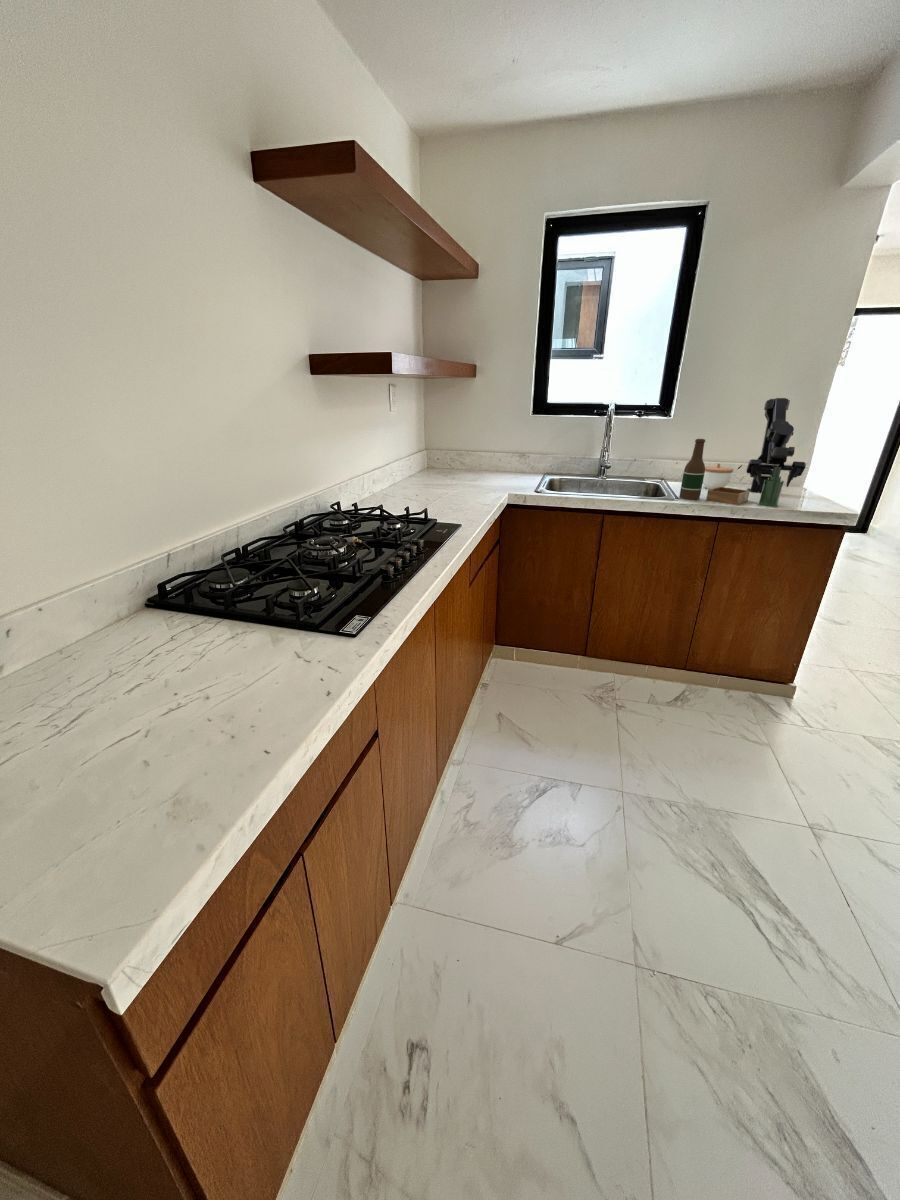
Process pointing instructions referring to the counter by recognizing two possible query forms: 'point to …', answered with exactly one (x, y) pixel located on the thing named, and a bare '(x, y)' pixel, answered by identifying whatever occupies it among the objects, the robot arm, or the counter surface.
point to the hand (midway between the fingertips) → (773, 485)
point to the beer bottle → (694, 474)
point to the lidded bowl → (716, 476)
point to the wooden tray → (728, 495)
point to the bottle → (772, 489)
